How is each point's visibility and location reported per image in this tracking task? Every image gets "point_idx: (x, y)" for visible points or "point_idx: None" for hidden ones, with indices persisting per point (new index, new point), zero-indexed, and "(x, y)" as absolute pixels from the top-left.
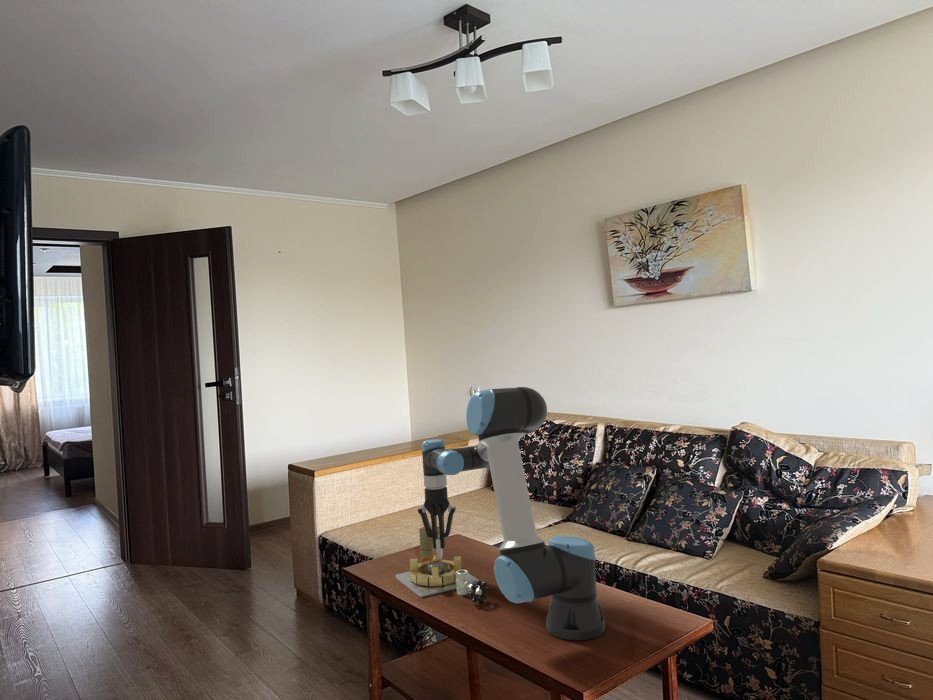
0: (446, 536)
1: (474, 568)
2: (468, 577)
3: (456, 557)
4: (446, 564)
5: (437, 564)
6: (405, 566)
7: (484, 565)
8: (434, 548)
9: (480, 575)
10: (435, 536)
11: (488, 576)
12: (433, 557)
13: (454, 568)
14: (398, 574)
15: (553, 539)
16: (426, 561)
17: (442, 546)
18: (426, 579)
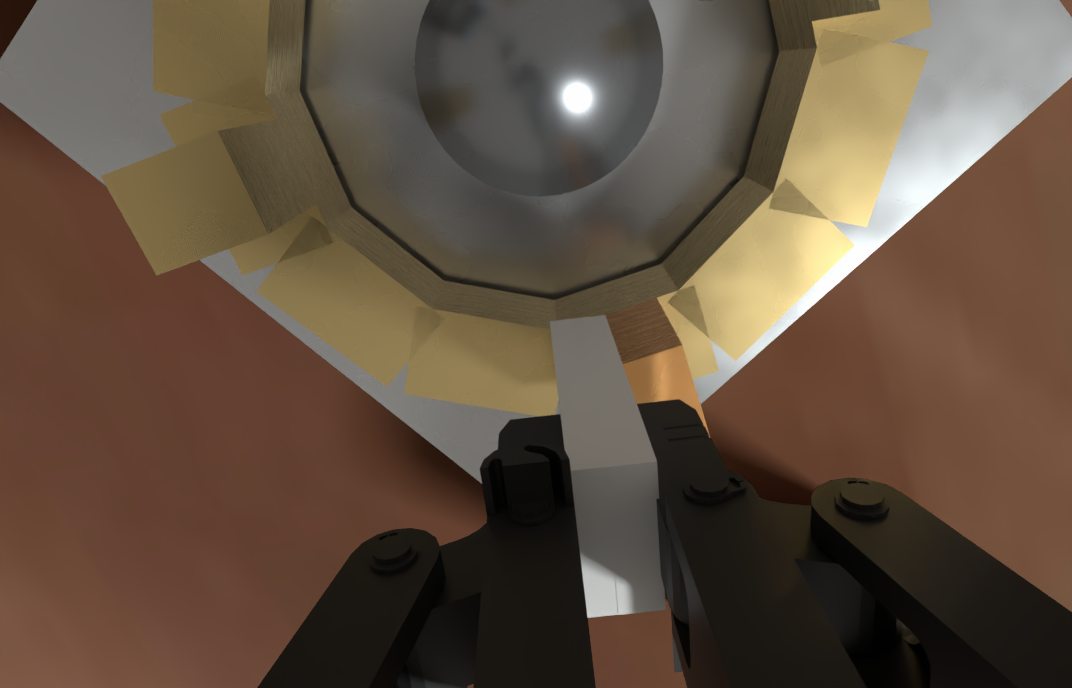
0: (398, 539)
1: (271, 483)
2: (143, 139)
3: (199, 199)
4: (476, 308)
5: (518, 91)
6: (1015, 414)
7: (212, 568)
8: (673, 401)
9: (116, 315)
10: (680, 511)
11: (19, 304)
12: (663, 320)
13: (270, 120)
14: (1058, 67)
15: None
16: (763, 319)
17: (528, 436)
18: None
